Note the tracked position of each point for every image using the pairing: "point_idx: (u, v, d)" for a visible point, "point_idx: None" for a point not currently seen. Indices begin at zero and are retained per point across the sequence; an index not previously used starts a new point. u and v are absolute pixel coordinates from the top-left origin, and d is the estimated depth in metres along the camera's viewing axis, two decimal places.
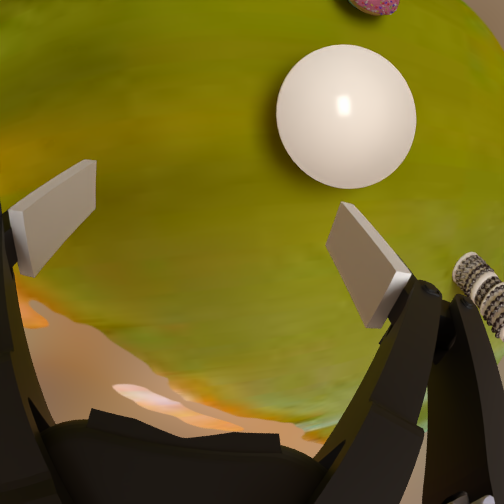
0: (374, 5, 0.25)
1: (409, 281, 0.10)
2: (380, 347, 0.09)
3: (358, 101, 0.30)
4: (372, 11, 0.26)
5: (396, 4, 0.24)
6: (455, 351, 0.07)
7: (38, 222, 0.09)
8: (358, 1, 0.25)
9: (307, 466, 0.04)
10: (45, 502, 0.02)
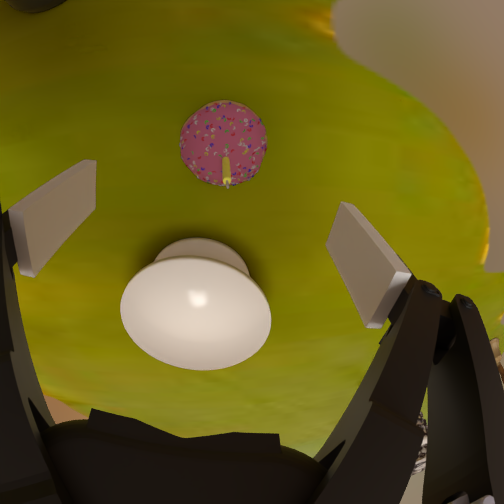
0: (219, 180, 0.28)
1: (409, 281, 0.10)
2: (380, 347, 0.09)
3: (196, 312, 0.33)
4: (220, 185, 0.29)
5: (256, 165, 0.27)
6: (455, 351, 0.07)
7: (38, 222, 0.09)
8: (199, 176, 0.28)
9: (307, 466, 0.04)
10: (45, 502, 0.02)
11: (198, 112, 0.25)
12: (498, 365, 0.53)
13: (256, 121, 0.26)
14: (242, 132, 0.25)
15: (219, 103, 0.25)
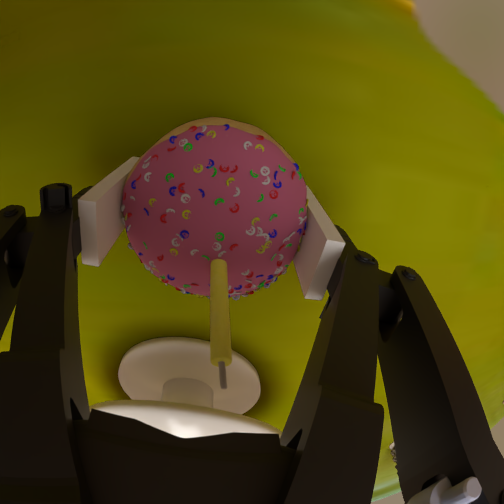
0: (207, 295, 0.14)
1: None
2: (321, 322, 0.10)
3: None
4: None
5: (284, 265, 0.13)
6: (404, 327, 0.08)
7: (105, 213, 0.10)
8: (168, 283, 0.14)
9: (268, 463, 0.04)
10: None
11: (154, 150, 0.11)
12: None
13: (289, 171, 0.12)
14: (257, 201, 0.11)
15: (201, 127, 0.11)
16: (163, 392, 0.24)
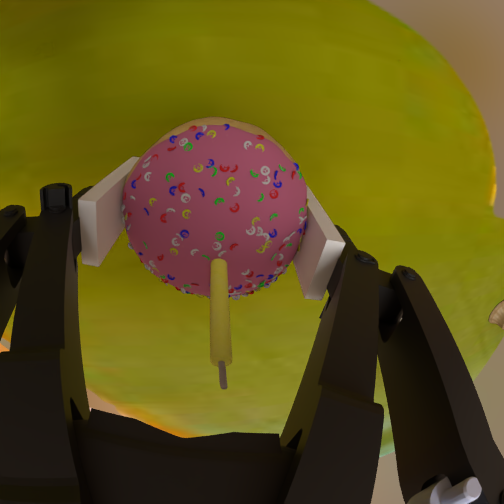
0: (207, 294, 0.14)
1: None
2: (321, 322, 0.10)
3: None
4: None
5: (284, 265, 0.13)
6: (404, 327, 0.08)
7: (105, 213, 0.10)
8: None
9: (268, 463, 0.04)
10: None
11: (154, 150, 0.11)
12: None
13: (289, 170, 0.12)
14: (257, 201, 0.11)
15: (202, 127, 0.11)
16: None
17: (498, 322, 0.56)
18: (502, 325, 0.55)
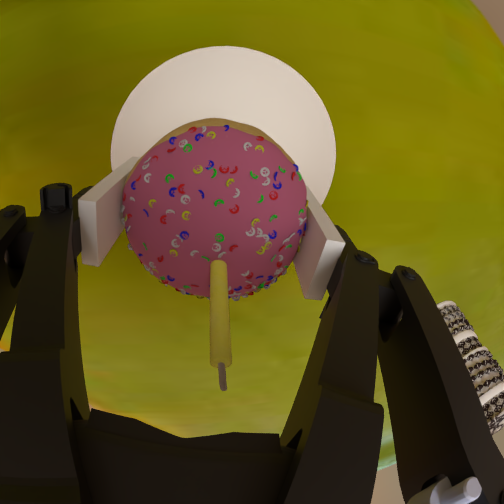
0: (207, 295, 0.14)
1: None
2: (321, 322, 0.10)
3: None
4: None
5: (283, 266, 0.13)
6: (404, 327, 0.08)
7: (105, 213, 0.10)
8: None
9: (268, 463, 0.04)
10: None
11: (153, 151, 0.11)
12: None
13: (289, 172, 0.12)
14: (257, 202, 0.11)
15: (201, 128, 0.11)
16: None
17: None
18: None
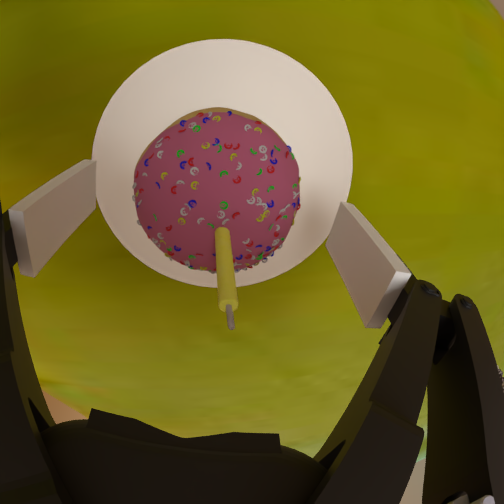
0: (210, 267, 0.15)
1: (409, 281, 0.10)
2: (380, 347, 0.09)
3: None
4: (213, 271, 0.16)
5: (280, 238, 0.15)
6: (455, 351, 0.07)
7: (38, 222, 0.09)
8: (173, 258, 0.15)
9: (307, 466, 0.04)
10: (45, 502, 0.02)
11: (165, 133, 0.12)
12: None
13: (283, 151, 0.13)
14: (256, 175, 0.12)
15: (208, 113, 0.12)
16: None
17: None
18: None
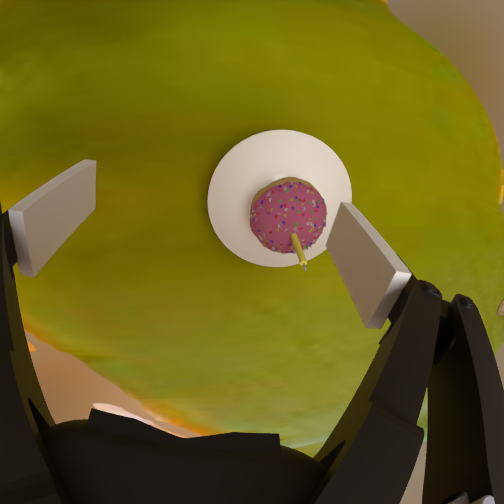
0: (283, 250, 0.32)
1: (409, 281, 0.10)
2: (380, 347, 0.09)
3: None
4: (282, 252, 0.33)
5: (316, 239, 0.32)
6: (455, 351, 0.07)
7: (38, 222, 0.09)
8: (265, 245, 0.32)
9: (307, 466, 0.04)
10: (45, 502, 0.02)
11: (271, 189, 0.29)
12: None
13: (321, 201, 0.30)
14: (310, 212, 0.30)
15: (290, 182, 0.29)
16: None
17: None
18: None
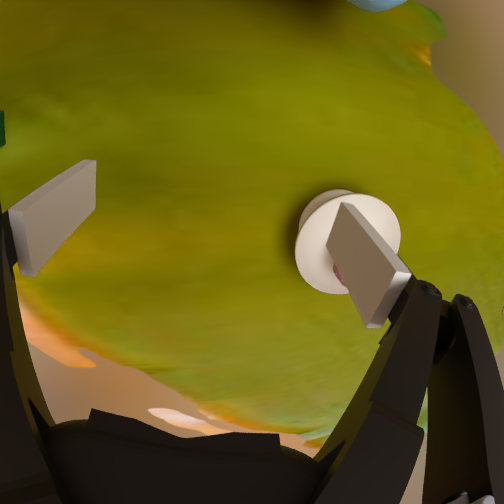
0: None
1: (409, 281, 0.10)
2: (380, 347, 0.09)
3: None
4: None
5: None
6: (455, 351, 0.07)
7: (38, 222, 0.09)
8: (344, 285, 0.42)
9: (307, 466, 0.04)
10: (45, 502, 0.02)
11: None
12: None
13: None
14: None
15: None
16: None
17: None
18: None
